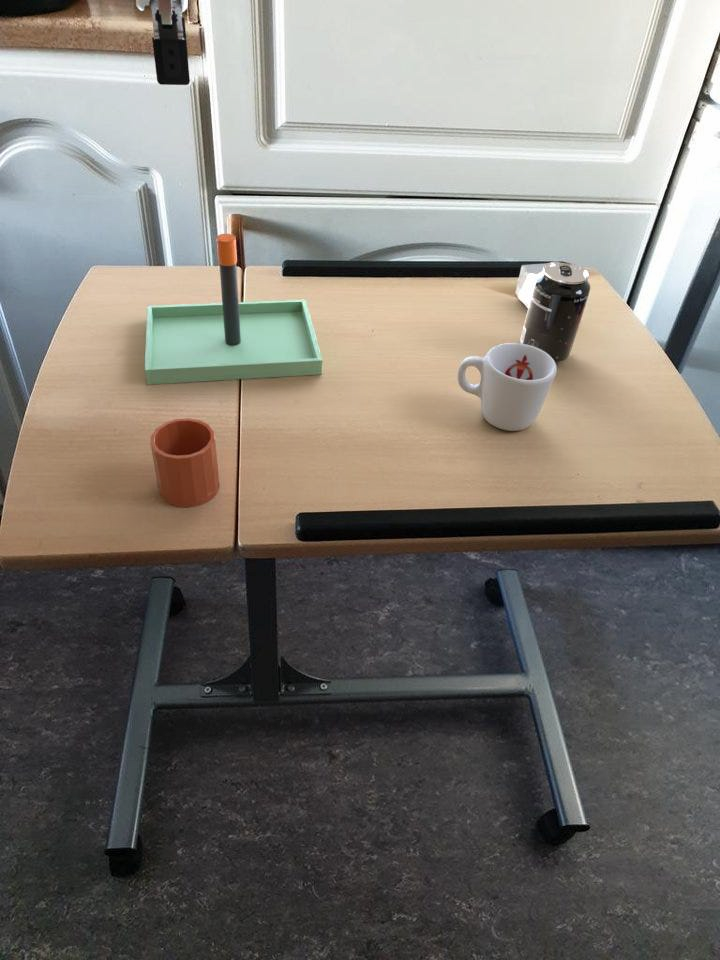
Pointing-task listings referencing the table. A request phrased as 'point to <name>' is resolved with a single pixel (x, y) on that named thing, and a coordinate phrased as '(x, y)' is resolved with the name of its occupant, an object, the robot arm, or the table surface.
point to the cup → (510, 383)
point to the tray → (206, 357)
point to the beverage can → (556, 309)
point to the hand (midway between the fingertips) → (173, 71)
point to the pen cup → (185, 462)
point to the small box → (527, 281)
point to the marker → (229, 287)
